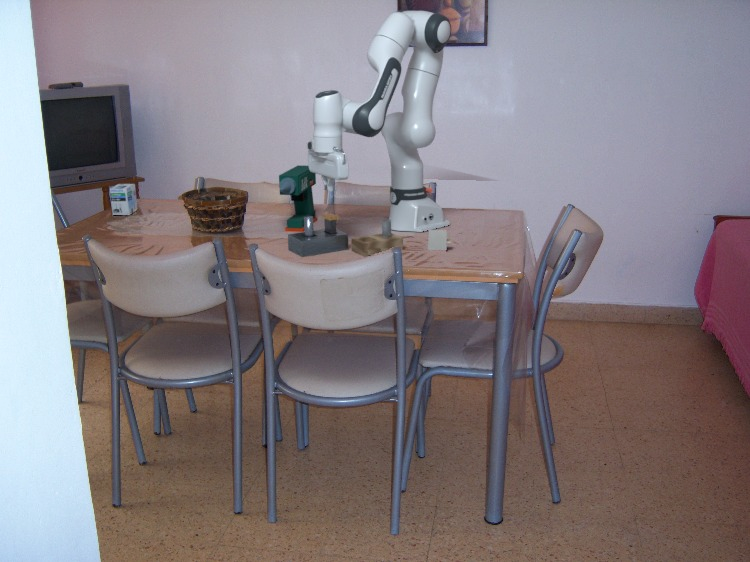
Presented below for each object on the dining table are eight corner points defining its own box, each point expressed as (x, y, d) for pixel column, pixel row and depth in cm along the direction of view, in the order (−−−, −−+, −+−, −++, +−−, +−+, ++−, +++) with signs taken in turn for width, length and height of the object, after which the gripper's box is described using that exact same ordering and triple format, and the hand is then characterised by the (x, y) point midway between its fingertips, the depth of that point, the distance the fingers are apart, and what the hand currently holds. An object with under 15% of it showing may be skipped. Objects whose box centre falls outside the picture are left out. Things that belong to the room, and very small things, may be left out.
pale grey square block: (427, 250, 246) (428, 227, 244) (450, 250, 246) (450, 227, 243) (428, 253, 243) (428, 230, 241) (450, 253, 242) (450, 230, 240)
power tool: (293, 241, 257) (290, 181, 251) (272, 240, 258) (269, 180, 252) (319, 220, 287) (317, 165, 281) (300, 219, 288) (298, 165, 282)
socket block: (333, 242, 255) (332, 227, 253) (348, 249, 246) (348, 234, 245) (288, 249, 247) (287, 234, 245) (302, 257, 239) (301, 241, 237)
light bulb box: (129, 216, 297) (126, 188, 294) (112, 216, 297) (108, 188, 294) (138, 210, 307) (135, 183, 304) (121, 210, 307) (118, 183, 304)
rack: (389, 244, 252) (389, 217, 249) (403, 249, 245) (403, 221, 242) (351, 250, 245) (350, 222, 242) (364, 256, 238) (363, 227, 236)
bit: (311, 249, 247) (310, 215, 244) (315, 251, 245) (314, 216, 241) (303, 250, 246) (302, 216, 242) (307, 252, 243) (306, 218, 240)
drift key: (331, 237, 251) (330, 213, 249) (339, 241, 247) (338, 216, 244) (322, 239, 249) (321, 214, 247) (330, 242, 245) (329, 217, 243)
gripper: (353, 148, 232) (353, 194, 236) (321, 141, 249) (322, 184, 253) (335, 150, 229) (335, 196, 233) (304, 142, 246) (304, 186, 250)
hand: (328, 190), depth 243 cm, fingers closed
